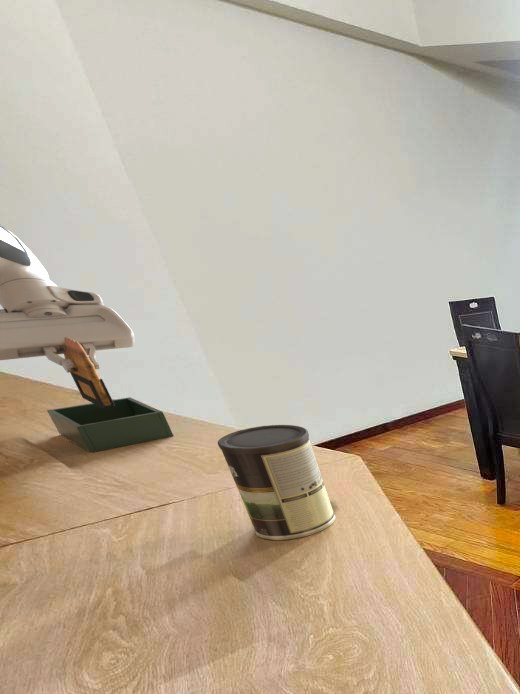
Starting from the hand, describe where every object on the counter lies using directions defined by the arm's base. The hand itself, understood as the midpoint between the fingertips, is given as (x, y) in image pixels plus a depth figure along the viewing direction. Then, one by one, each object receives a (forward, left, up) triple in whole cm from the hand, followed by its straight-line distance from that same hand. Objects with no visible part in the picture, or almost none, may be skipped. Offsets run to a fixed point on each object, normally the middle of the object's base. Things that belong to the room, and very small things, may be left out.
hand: (83, 368), depth 112 cm
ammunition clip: (0, +1, -7) cm, 7 cm away
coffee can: (+1, -67, -13) cm, 69 cm away
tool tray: (0, +1, -13) cm, 13 cm away
